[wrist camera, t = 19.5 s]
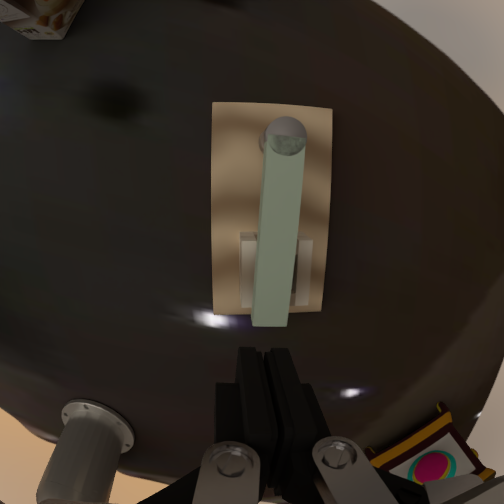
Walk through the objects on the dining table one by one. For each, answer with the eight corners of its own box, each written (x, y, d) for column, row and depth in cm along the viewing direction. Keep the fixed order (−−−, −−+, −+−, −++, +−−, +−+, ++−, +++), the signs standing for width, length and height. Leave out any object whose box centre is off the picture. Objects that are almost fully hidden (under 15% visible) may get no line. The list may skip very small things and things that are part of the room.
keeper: (302, 122, 24) (308, 119, 22) (283, 317, 28) (287, 326, 27) (264, 117, 23) (268, 114, 22) (249, 316, 28) (251, 326, 26)
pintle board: (317, 305, 35) (332, 329, 30) (213, 308, 34) (212, 334, 29) (327, 111, 29) (348, 101, 24) (213, 105, 28) (210, 91, 23)
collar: (298, 289, 33) (307, 305, 29) (239, 291, 32) (241, 307, 28) (302, 231, 31) (312, 240, 27) (239, 231, 31) (241, 240, 27)
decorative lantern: (449, 435, 49) (509, 520, 20) (376, 480, 50) (419, 577, 21) (445, 391, 43) (532, 497, 15) (354, 448, 44) (411, 578, 16)
